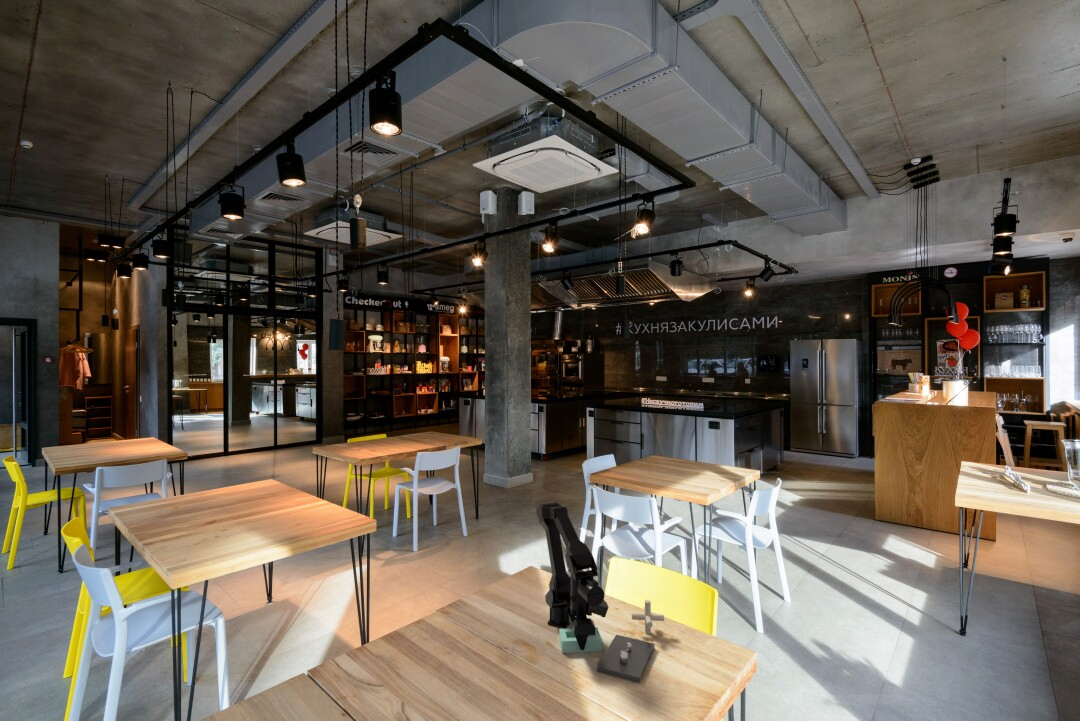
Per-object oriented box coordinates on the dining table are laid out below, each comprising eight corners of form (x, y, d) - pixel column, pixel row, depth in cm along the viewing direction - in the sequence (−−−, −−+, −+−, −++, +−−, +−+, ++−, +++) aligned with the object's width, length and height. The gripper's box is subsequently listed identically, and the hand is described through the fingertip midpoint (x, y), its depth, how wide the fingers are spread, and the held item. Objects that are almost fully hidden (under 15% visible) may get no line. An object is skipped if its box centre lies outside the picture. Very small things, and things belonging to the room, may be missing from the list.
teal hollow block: (562, 653, 151) (562, 641, 151) (559, 640, 158) (559, 628, 158) (601, 651, 152) (601, 639, 152) (597, 638, 159) (597, 627, 159)
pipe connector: (661, 625, 167) (661, 594, 167) (666, 642, 157) (665, 609, 157) (630, 623, 168) (630, 593, 168) (633, 640, 158) (633, 608, 158)
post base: (597, 671, 143) (597, 657, 142) (616, 639, 159) (616, 626, 159) (639, 683, 137) (639, 668, 137) (654, 648, 154) (654, 635, 154)
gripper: (612, 605, 147) (612, 658, 147) (600, 577, 165) (600, 624, 165) (574, 606, 146) (574, 660, 146) (566, 578, 164) (566, 626, 164)
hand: (580, 642), depth 155 cm, fingers open, 8 cm apart
